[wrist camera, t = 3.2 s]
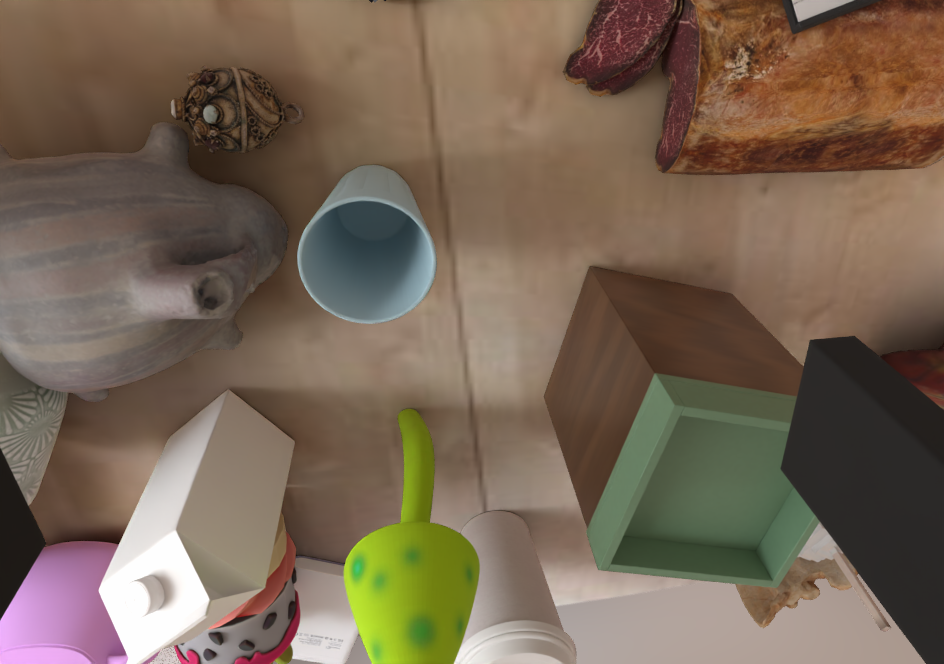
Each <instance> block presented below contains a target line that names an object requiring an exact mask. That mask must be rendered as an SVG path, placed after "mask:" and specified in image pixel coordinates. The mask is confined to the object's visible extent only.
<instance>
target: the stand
mask: <svg viewBox="0 0 944 664" xmlns="http://www.w3.org/2000/svg"><path fill="white" fill-rule="evenodd" d="M803 369H804V367H803V366H802V365H801V364H800V363H799V362H798V361H797V360H796V359H795V358H794V357H793V356H792V355H791V354H790V353H789V352H788V351H787V350H786V349H785V348H784V347H783V346H782V345H781V344H780V342H779V341H778V340H777V339H776V338H775V337H774V336H773V335H772V334H771V333H770V332H769V331H768V330H767V329H766V328H765V327H764V326H763V325H762V324H761V323H760V322H759V321H758V320H757V319H756V318H755V317H754V316H753V315H752V314H751V313H750V312H749V311H748V310H747V309H746V308H745V307H744V306H743V305H742V304H741V303H740V302H739V301H738V300H737V298H736V297H735V296H734V295H733V294H730V293H725V292H720V291H714V290H709V289H704V288H699V287H694V286H689V285H684V284H679V283H673V282H668V281H663V280H658V279H653V278H648V277H643V276H638V275H633V274H627V273H622V272H617V271H612V270H607V269H602V268H597V267H592V266H590V267H589V269H588V272H587V275H586V278H585V281H584V283H583V286H582V289H581V292H580V295H579V298H578V300H577V303H576V306H575V309H574V312H573V315H572V318H571V320H570V323H569V326H568V329H567V332H566V335H565V338H564V340H563V343H562V346H561V349H560V352H559V355H558V357H557V360H556V363H555V366H554V369H553V372H552V375H551V377H550V380H549V383H548V386H547V389H546V392H545V395H544V399H545V402H546V405H547V408H548V411H549V414H550V417H551V420H552V423H553V426H554V429H555V432H556V435H557V438H558V441H559V444H560V447H561V450H562V453H563V456H564V459H565V462H566V465H567V468H568V472H569V475H570V478H571V481H572V484H573V487H574V490H575V493H576V496H577V499H578V502H579V505H580V508H581V511H582V514H583V517H584V520H585V523H586V526H587V529H588V526H589V524H590V522H591V519H592V517H593V515H594V512H595V510H596V508H597V505H598V503H599V501H600V499H601V496H602V494H603V492H604V489H605V487H606V485H607V482H608V480H609V478H610V475H611V473H612V471H613V469H614V466H615V464H616V462H617V459H618V457H619V455H620V452H621V450H622V448H623V446H624V443H625V441H626V439H627V436H628V434H629V432H630V429H631V427H632V425H633V422H634V420H635V418H636V416H637V413H638V411H639V409H640V406H641V404H642V402H643V399H644V397H645V395H646V393H647V390H648V388H649V386H650V383H651V381H652V379H653V376H654V374H655V373H658V374H664V375H670V376H676V377H682V378H688V379H694V380H700V381H706V382H712V383H718V384H724V385H731V386H737V387H743V388H749V389H755V390H761V391H767V392H773V393H779V394H785V395H791V396H797V395H798V390H799V386H800V382H801V377H802V373H803Z"/></svg>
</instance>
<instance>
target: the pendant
mask: <svg viewBox="0 0 944 664" xmlns="http://www.w3.org/2000/svg"><path fill="white" fill-rule="evenodd" d="M201 71H202V73H200V74H199V73H194V72H192V73H188V74H187V78H188V80H189V86H190V88H189V89H188V91H187V92H186V96H185V98H183V97H180V99H173V100H172V101H171V114H172V116H173V117H174V118H175V119H176V120H180V119H182V121H183V122H187V124H188V125H189V127H190V128H191V129H192V131H193V134H192V135H194V140H193V142H194V145H195V146H197V145H205V146H208V147H209V151H210V152H211V153H214V152H215V150H217V151H218V149H221V150H224V151H227V152H239V153H244V152H249V150H251V149H254V148H257V149H260V148H262V147H264V146H265V145H267V144H268V143H269V142H270V141H272V140H273V139H274V137H275V136H276V133H277V130H278V128H279V127H280V126H281V124H282V122H283V120H284V121H285V122H288V123H291V124H298V123H300V122H301V121H302V119H303V118H304V113H303V110H302V108H301V107H300V106H299V105H297V104H295V103H290V102H286V103H283V104H282V103H281V100H280V99H279V98H278V96H277V93H276V91H275V90H274V89H273V87H272V86H271V85H270V84H269V82H268V81H266V80H265V79H264V78H263V77H262V76H260V75H259V74H256V73H255V72H254V71H251V70H249V69H244V68H241V67H240V69H237V68H234V67H230V68H229V69H225V68H218V69H213V70H211V69H208V68H207V67H206V66H203V67H202V68H201ZM286 108H293V109H294V110H296V111H297V112H298V113H299V116H298V117H295V118H291V117H290V116H289V115H287V113H286V112H285V110H286Z"/></svg>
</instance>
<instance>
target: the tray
mask: <svg viewBox="0 0 944 664" xmlns="http://www.w3.org/2000/svg"><path fill="white" fill-rule="evenodd" d="M796 399H797V396H791V395H785V394H779V393H773V392H767V391H761V390H755V389H749V388H743V387H737V386H731V385H724V384H718V383H712V382H706V381H700V380H694V379H688V378H682V377H676V376H670V375H664V374H658V373H655V374H654V376H653V379H652V381H651V383H650V386H649V388H648V390H647V393H646V395H645V397H644V399H643V402H642V404H641V406H640V409H639V411H638V413H637V416H636V418H635V420H634V422H633V425H632V427H631V429H630V432H629V434H628V436H627V439H626V441H625V443H624V446H623V448H622V450H621V452H620V455H619V457H618V459H617V462H616V464H615V466H614V469H613V471H612V473H611V475H610V478H609V480H608V482H607V485H606V487H605V489H604V492H603V494H602V496H601V499H600V501H599V503H598V505H597V508H596V510H595V512H594V515H593V517H592V519H591V522H590V524H589V526H588V529H587V531H586V533H587V536H588V540H589V543H590V546H591V549H592V552H593V555H594V558H595V561H596V564H597V568H598V570H603V571H607V570H608V571H613V572H623V573H633V574H643V575H653V576H663V577H672V578H682V579H692V580H702V581H712V582H723V583H732V584H742V585H752V586H762V587H773V588H777V587H778V586H779V584H780V583H781V581H782V580H783V578H784V577H785V575H786V574H787V572H788V571H789V569H790V567H791V566H792V564H793V563H794V561H795V560H796V558H797V557H798V555H799V553H800V552H801V550H802V549H803V547H804V546H805V544H806V543H807V541H808V539H809V538H810V536H811V535H812V533H813V532H814V530H815V529H816V527H817V525H818V524H819V522H820V521H819V520H818V519H817V517H816V516H815V515H814V513H813V512H812V511H811V509H810V508H809V507H808V505H807V504H806V503H805V501H804V500H803V499H802V497H801V496H800V495H799V493H798V492H797V491H796V489H795V488H794V487H793V485H792V484H791V483H790V481H789V480H788V479H787V477H786V476H785V475H784V473H783V472H782V471H781V469H780V468H781V464H782V460H783V455H784V451H785V447H786V442H787V438H788V434H789V429H790V425H791V421H792V416H793V412H794V408H795V403H796Z"/></svg>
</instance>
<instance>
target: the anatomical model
mask: <svg viewBox="0 0 944 664" xmlns="http://www.w3.org/2000/svg"><path fill="white" fill-rule="evenodd" d="M880 358H882V359H883V360H884V361H885V362H886V363H888V364H889V365H890V366H891V367H893V368H894V369H895V370H896V371H897V372H899V373H900V374H901V375H902V376H903V377H905V378H906V379H907V380H908V381H909V382H911V383H912V384H913V385H914V386H915V387H917V388H918V389H919V390H920V391H921V392H923V393H924V394H925V395H926V396H928V397H929V398H930V399H931V400H932V401H934V402H935V403H936V404H937V405H938V406H940V407H941V408H942V409H943V410H944V343H943V344H942V346H941V347H940V348H939V349H938V350H923V349H922V350H908V351H898V352H892V353H888V354H884V355H882V356H880Z"/></svg>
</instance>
